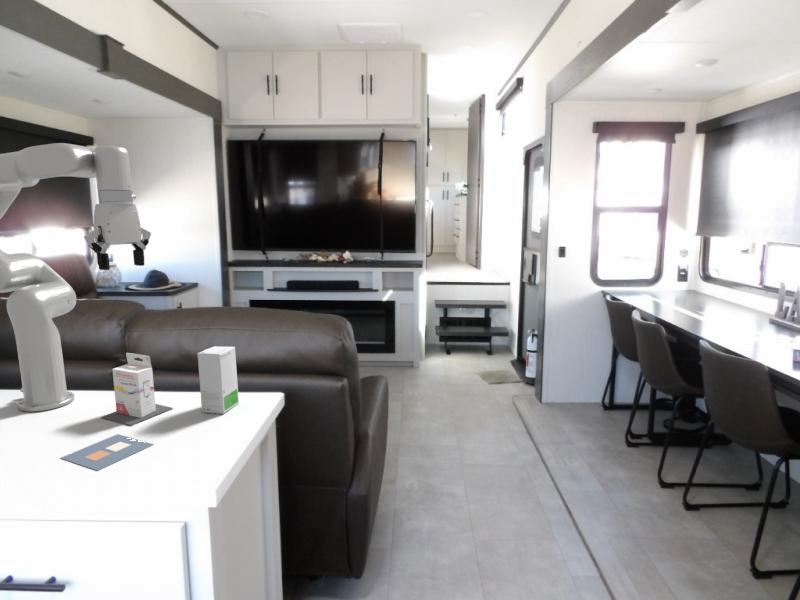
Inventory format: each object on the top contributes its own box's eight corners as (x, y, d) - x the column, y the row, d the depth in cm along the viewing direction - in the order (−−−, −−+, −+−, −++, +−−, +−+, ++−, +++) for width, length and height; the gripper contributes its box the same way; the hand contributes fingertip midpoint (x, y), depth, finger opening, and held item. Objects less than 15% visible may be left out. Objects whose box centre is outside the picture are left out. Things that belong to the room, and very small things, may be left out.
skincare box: (223, 415, 133) (219, 354, 130) (199, 413, 134) (195, 353, 131) (240, 402, 141) (236, 345, 138) (217, 401, 142) (213, 344, 139)
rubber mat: (101, 418, 131) (101, 416, 131) (143, 402, 142) (143, 401, 142) (131, 426, 126) (130, 424, 126) (172, 408, 137) (172, 407, 137)
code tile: (60, 458, 110) (60, 457, 110) (117, 434, 122) (117, 433, 122) (97, 470, 105) (97, 470, 105) (153, 444, 116) (153, 444, 116)
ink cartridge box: (115, 413, 133) (109, 357, 131) (131, 406, 138) (126, 351, 135) (141, 418, 130) (135, 360, 127) (157, 411, 135) (152, 355, 132)
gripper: (136, 198, 140) (142, 263, 143) (71, 198, 125) (79, 270, 128) (156, 198, 137) (161, 264, 140) (91, 197, 122) (99, 272, 125)
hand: (122, 267), depth 134 cm, fingers open, 9 cm apart
